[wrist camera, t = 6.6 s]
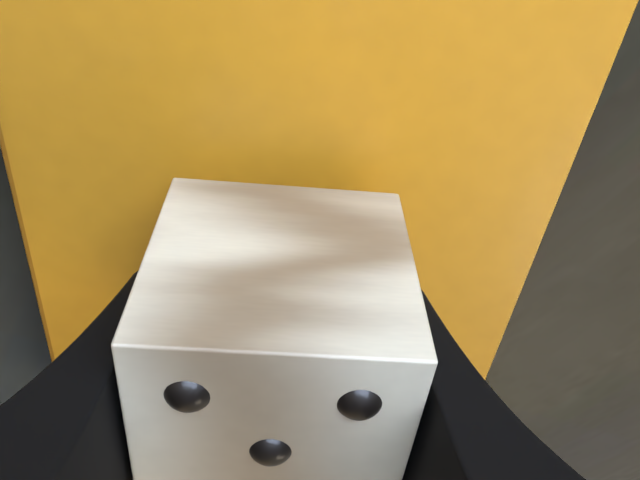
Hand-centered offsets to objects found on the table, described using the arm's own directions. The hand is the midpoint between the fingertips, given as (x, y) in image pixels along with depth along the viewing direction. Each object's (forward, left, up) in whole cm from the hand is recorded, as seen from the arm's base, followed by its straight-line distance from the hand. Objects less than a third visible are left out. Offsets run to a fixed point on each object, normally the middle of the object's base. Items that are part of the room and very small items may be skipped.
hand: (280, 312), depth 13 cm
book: (0, +1, -5) cm, 5 cm away
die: (0, 0, -1) cm, 1 cm away
